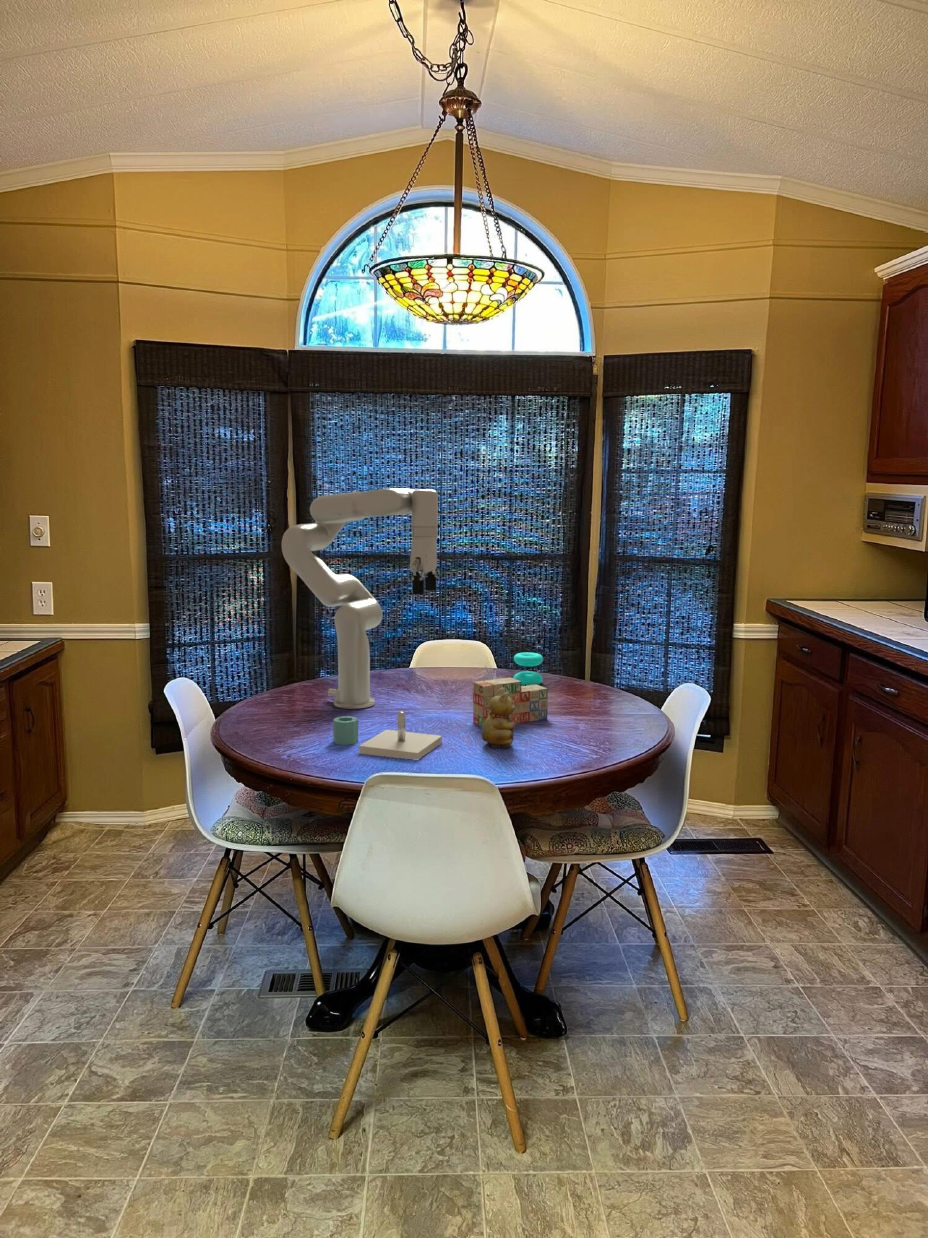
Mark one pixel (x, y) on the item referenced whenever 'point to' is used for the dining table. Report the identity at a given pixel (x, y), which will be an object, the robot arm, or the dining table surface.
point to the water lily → (492, 674)
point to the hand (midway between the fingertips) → (424, 592)
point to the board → (400, 742)
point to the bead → (345, 730)
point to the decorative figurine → (499, 721)
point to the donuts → (528, 660)
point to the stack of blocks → (526, 700)
